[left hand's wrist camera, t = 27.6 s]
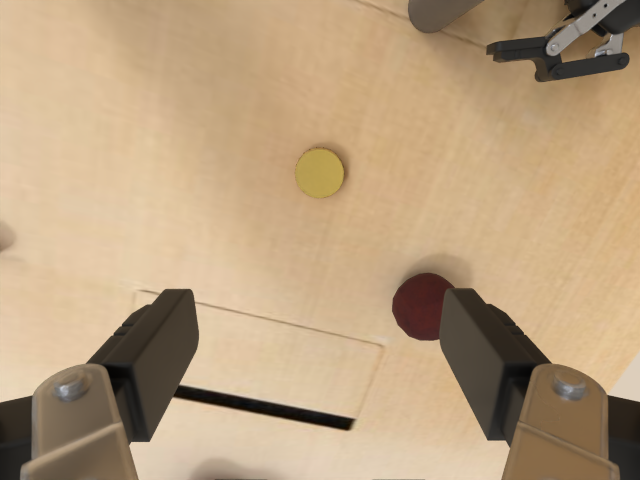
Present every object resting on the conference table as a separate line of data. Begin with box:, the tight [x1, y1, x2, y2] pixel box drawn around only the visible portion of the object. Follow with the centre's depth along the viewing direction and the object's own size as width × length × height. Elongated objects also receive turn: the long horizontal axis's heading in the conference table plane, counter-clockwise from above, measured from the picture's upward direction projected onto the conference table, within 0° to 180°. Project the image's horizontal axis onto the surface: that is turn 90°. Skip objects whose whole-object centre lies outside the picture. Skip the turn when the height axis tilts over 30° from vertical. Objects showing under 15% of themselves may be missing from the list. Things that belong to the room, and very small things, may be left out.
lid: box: [295, 147, 344, 198], centre depth 37 cm, size 5×5×2 cm
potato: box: [392, 273, 455, 341], centre depth 40 cm, size 7×8×7 cm
